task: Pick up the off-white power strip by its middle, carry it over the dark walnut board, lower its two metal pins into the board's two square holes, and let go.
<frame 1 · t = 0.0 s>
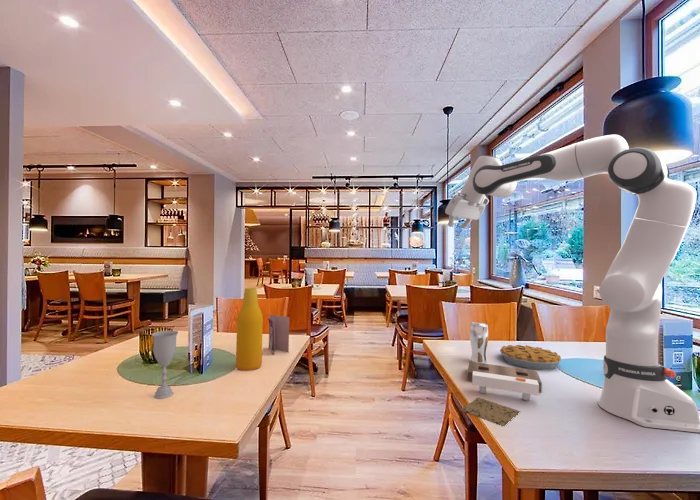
hand: (456, 227, 136), 54 cm above the table, tool tilted 30°, fingers open, 8 cm apart
pie: (529, 362, 133), on the table
seeded crispbread: (490, 413, 90), on the table
power strip: (503, 395, 100), on the table
socket board: (502, 379, 113), on the table
beer glass: (478, 361, 133), on the table
chalice: (163, 395, 96), on the table
beer bottle: (248, 367, 121), on the table
greeting card: (277, 351, 142), on the table
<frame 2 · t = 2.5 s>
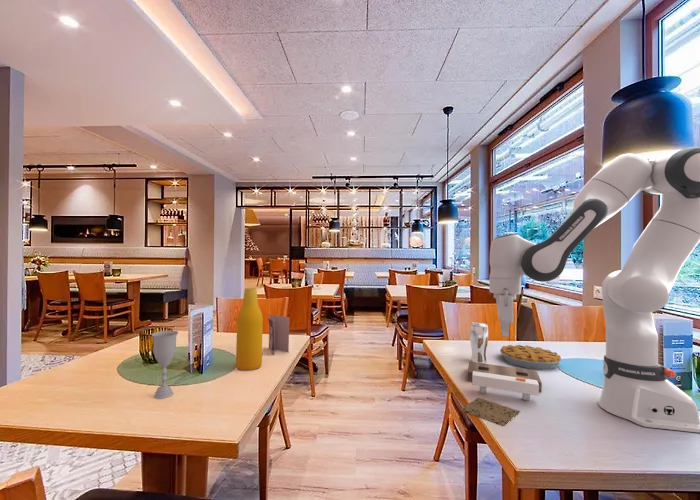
hand: (504, 332, 100), 19 cm above the table, tool pointing down, fingers open, 8 cm apart
nothing on the table moved.
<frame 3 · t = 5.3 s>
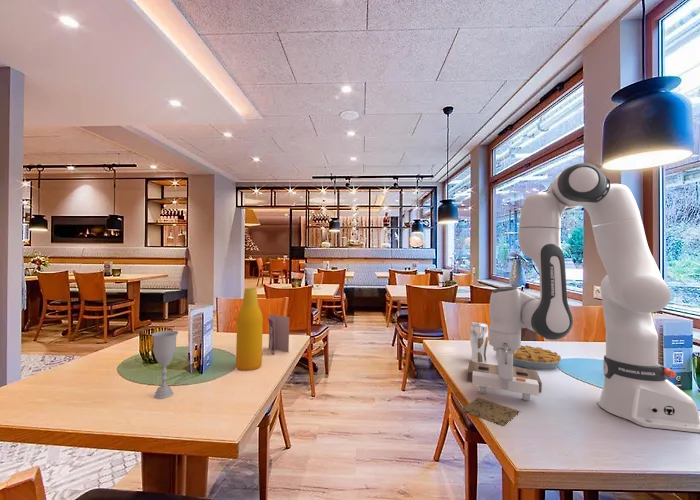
hand: (504, 385, 100), 3 cm above the table, tool pointing down, fingers closed on power strip, 4 cm apart
power strip: (503, 395, 100), on the table, touching gripper
everything else where it was.
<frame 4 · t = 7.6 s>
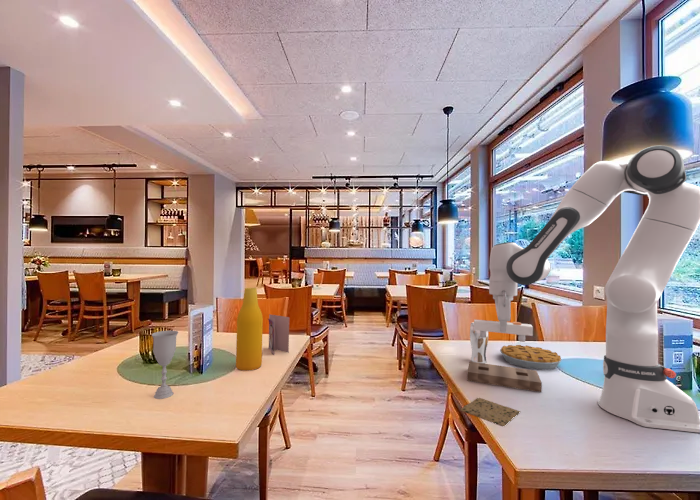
hand: (502, 330, 113), 17 cm above the table, tool pointing down, fingers closed on power strip, 4 cm apart
power strip: (502, 339, 113), point 14 cm above the table, touching gripper
everything else where it was.
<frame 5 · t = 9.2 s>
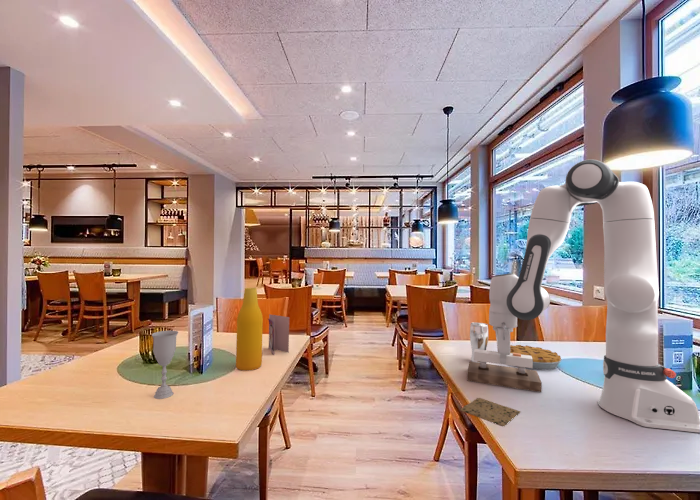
hand: (502, 360, 113), 7 cm above the table, tool pointing down, fingers closed on power strip, 4 cm apart
power strip: (502, 369, 113), point 3 cm above the table, touching gripper
everything else where it was.
when the fingers open (4 cm above the table, at t = 10.4 s): power strip stays where it is, resting on socket board.
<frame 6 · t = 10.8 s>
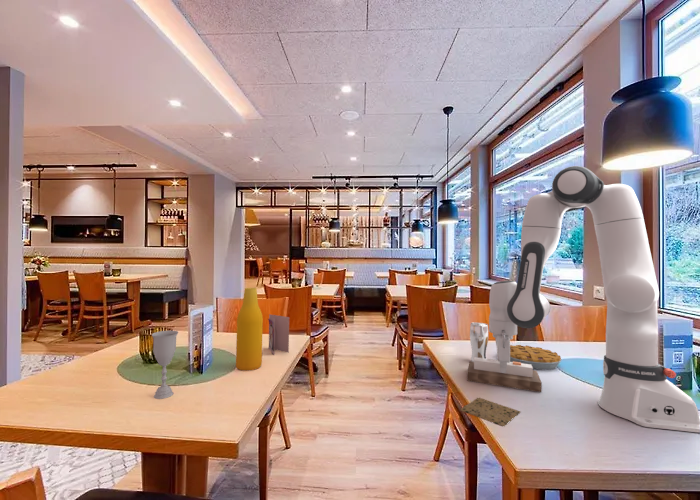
hand: (502, 368, 113), 4 cm above the table, tool pointing down, fingers open, 8 cm apart
power strip: (502, 378, 113), resting on socket board
everything else where it was.
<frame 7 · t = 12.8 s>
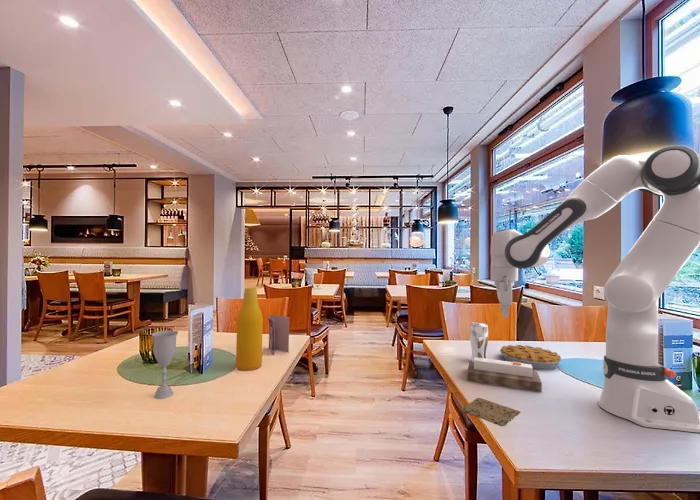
hand: (504, 315, 115), 22 cm above the table, tool pointing down, fingers open, 8 cm apart
nothing on the table moved.
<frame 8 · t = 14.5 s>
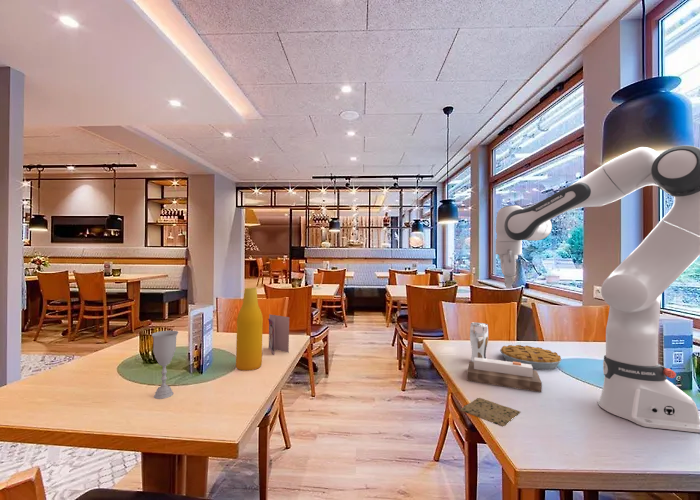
hand: (508, 287, 122), 31 cm above the table, tool pointing down, fingers open, 8 cm apart
nothing on the table moved.
at the end: power strip 0.0 cm off-centre on the socket board, point 0.5 cm above the socket board's base; power strip tilted 0°; the gripper is holding nothing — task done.
